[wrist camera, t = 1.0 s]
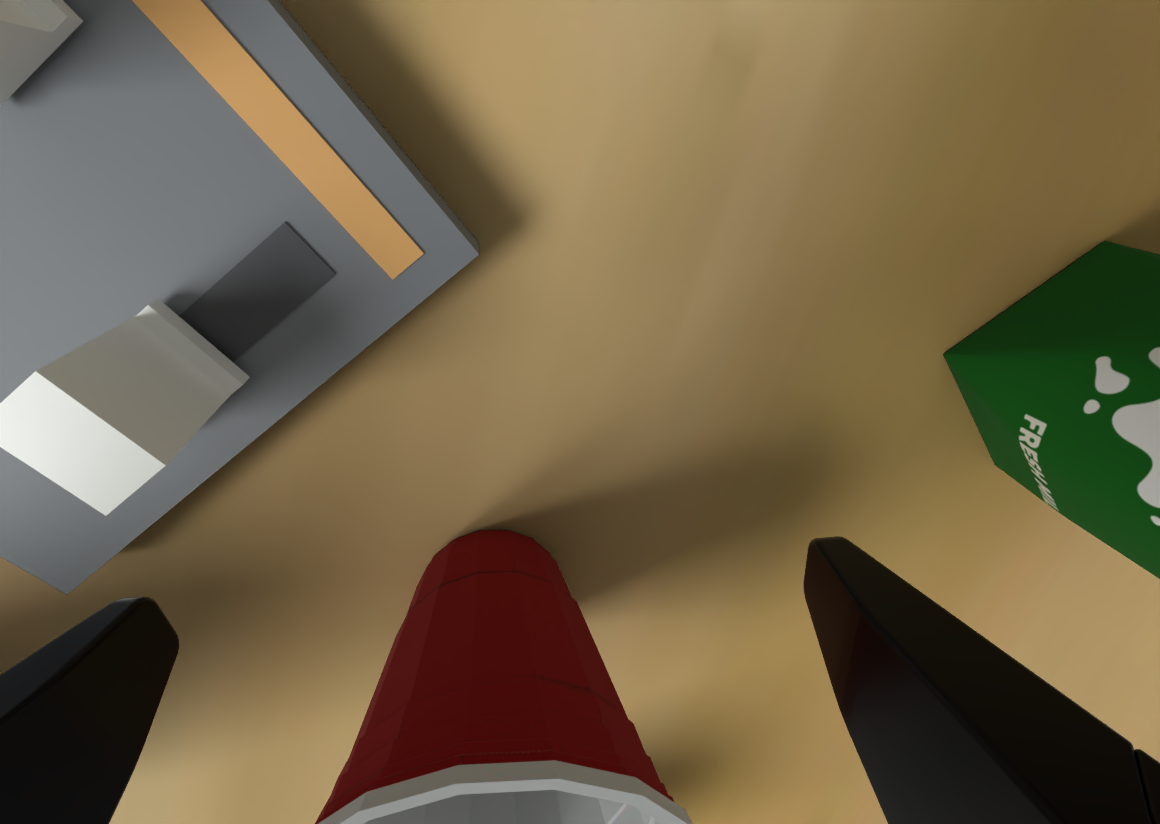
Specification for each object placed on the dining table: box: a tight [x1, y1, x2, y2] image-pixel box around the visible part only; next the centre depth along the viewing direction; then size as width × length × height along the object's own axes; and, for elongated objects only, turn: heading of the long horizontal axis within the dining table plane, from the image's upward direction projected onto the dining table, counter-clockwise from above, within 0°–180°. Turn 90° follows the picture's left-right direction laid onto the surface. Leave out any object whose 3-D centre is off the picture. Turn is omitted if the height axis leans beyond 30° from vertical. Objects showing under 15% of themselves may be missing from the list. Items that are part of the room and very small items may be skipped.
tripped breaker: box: [0, 299, 250, 516], centre depth 15 cm, size 3×3×5 cm
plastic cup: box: [315, 530, 693, 824], centre depth 20 cm, size 11×11×12 cm
